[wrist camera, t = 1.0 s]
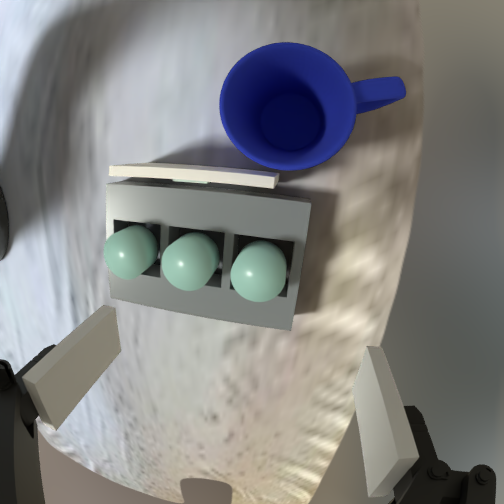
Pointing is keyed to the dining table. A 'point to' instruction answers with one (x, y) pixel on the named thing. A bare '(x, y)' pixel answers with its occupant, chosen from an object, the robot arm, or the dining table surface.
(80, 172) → the dining table surface
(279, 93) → the mug
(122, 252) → the button left
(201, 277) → the button middle
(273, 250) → the button right
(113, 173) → the pattern card
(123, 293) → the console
